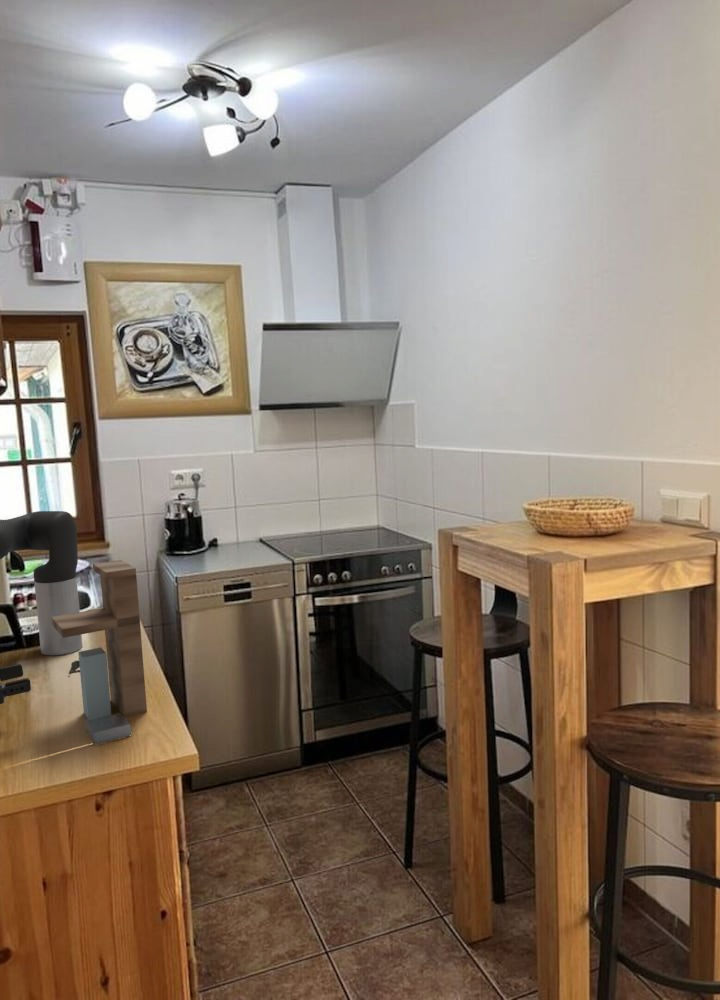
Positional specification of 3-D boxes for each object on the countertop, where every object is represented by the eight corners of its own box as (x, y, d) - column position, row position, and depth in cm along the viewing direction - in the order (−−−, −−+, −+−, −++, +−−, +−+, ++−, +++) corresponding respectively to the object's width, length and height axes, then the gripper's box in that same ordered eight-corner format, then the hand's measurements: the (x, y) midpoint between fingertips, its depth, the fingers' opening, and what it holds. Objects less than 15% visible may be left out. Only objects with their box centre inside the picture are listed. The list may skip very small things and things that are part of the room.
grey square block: (86, 734, 128) (85, 721, 128) (122, 726, 131) (120, 712, 131) (95, 747, 123) (94, 733, 123) (131, 737, 126) (130, 723, 126)
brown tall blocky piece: (60, 713, 137) (47, 570, 134) (131, 696, 144) (120, 559, 141) (71, 732, 129) (57, 579, 125) (147, 713, 136) (135, 568, 132)
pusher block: (83, 714, 136) (78, 651, 135) (106, 709, 138) (100, 647, 137) (88, 721, 133) (83, 657, 131) (111, 716, 135) (106, 652, 133)
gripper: (-82, 692, 114) (30, 667, 123) (-86, 666, 126) (17, 645, 135) (-76, 738, 115) (35, 710, 124) (-80, 708, 127) (22, 684, 136)
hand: (26, 676), depth 129 cm, fingers open, 8 cm apart
